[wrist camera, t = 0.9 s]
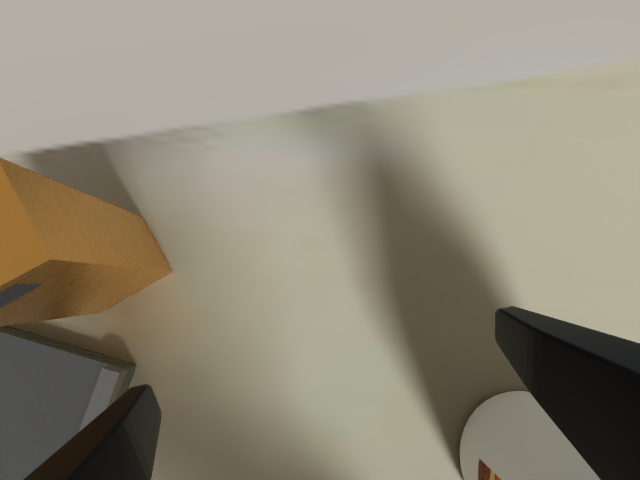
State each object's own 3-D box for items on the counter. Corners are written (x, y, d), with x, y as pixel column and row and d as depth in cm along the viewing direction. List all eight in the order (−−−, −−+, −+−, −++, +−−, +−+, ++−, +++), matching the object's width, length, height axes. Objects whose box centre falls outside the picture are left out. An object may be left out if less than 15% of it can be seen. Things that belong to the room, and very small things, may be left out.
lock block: (173, 272, 22) (50, 260, 12) (100, 313, 22) (-101, 342, 11) (142, 216, 23) (-5, 155, 12) (70, 256, 22) (-154, 229, 11)
